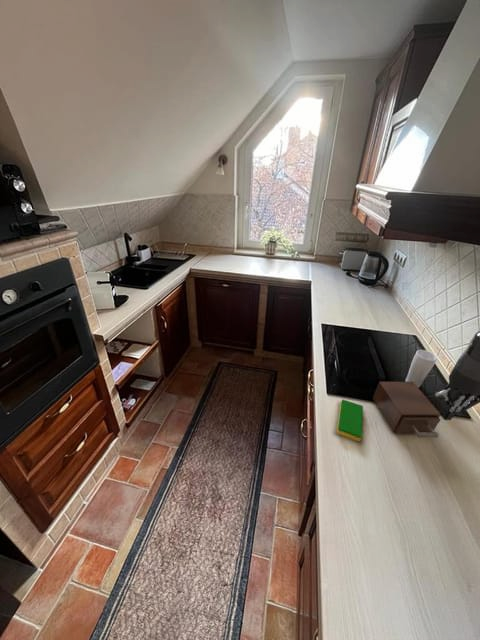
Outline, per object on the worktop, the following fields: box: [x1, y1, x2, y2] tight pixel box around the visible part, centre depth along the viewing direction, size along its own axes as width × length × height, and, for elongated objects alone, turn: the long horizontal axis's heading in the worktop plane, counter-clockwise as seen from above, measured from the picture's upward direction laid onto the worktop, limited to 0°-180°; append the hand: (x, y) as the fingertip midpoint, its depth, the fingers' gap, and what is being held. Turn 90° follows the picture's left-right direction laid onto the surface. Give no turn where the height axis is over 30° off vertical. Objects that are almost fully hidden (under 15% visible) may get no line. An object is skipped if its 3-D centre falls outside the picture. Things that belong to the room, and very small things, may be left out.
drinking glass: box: [404, 349, 438, 389], centre depth 100 cm, size 7×7×15 cm
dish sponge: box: [336, 399, 364, 442], centre depth 87 cm, size 7×14×2 cm, turn 156°
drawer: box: [395, 416, 441, 438], centre depth 85 cm, size 18×11×7 cm, turn 1°
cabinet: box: [372, 381, 441, 433], centre depth 88 cm, size 15×13×9 cm
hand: (445, 417), depth 71 cm, fingers closed
